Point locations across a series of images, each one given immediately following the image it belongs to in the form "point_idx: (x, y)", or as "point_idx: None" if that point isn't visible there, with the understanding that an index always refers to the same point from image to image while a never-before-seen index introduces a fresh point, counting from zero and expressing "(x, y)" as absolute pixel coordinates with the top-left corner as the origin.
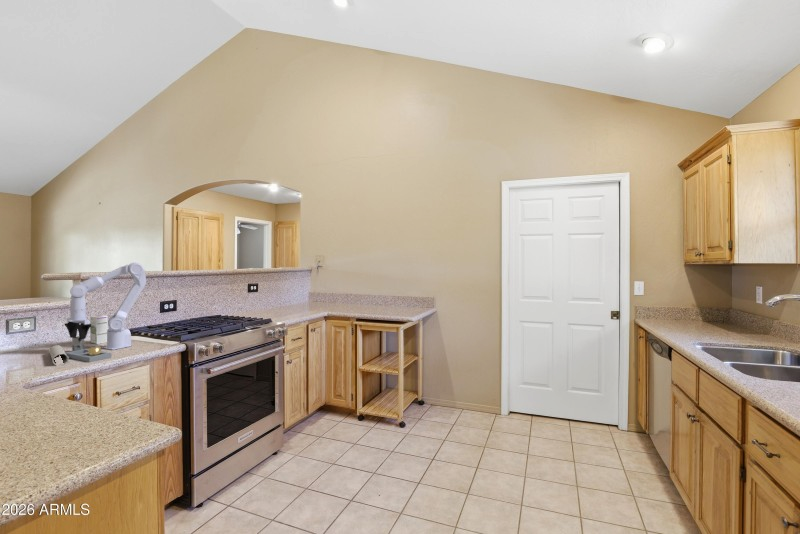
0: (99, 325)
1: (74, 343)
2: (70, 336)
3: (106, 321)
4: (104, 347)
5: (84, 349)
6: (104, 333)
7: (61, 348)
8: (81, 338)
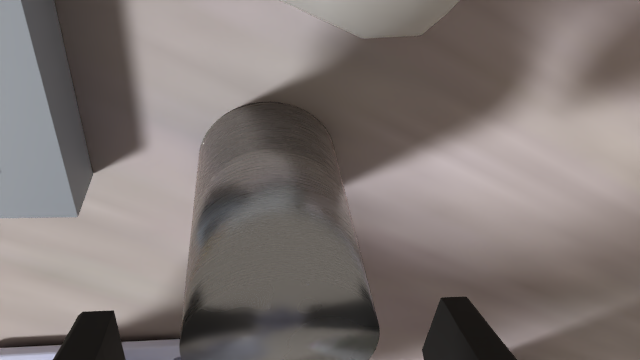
0: None
1: (241, 205)
2: (461, 313)
3: None
4: (159, 351)
5: (25, 180)
6: None
7: None
8: (72, 334)
